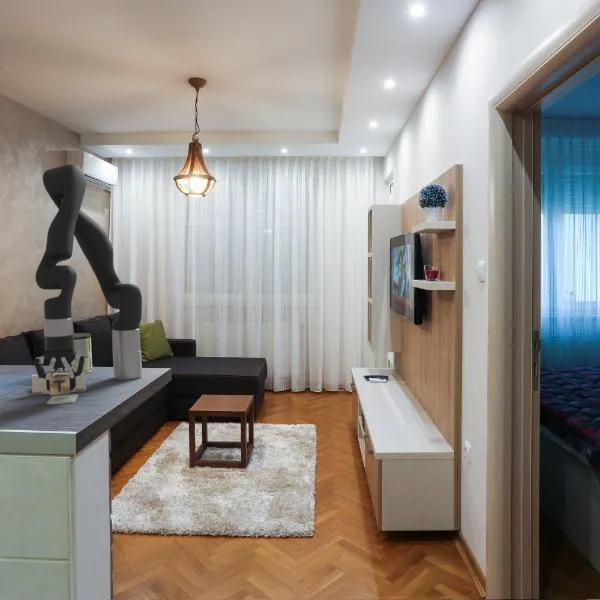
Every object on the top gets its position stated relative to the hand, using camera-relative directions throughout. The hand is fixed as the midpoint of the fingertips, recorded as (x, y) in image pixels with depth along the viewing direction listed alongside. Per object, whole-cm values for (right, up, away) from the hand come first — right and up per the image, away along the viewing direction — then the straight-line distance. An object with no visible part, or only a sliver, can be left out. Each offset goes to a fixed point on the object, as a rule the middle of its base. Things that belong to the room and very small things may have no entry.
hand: (61, 390), depth 138 cm
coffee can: (-13, 0, +38) cm, 40 cm away
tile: (0, -3, 0) cm, 3 cm away
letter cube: (0, 0, 0) cm, 0 cm away
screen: (-5, -2, +9) cm, 11 cm away
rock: (-12, -2, +15) cm, 20 cm away
